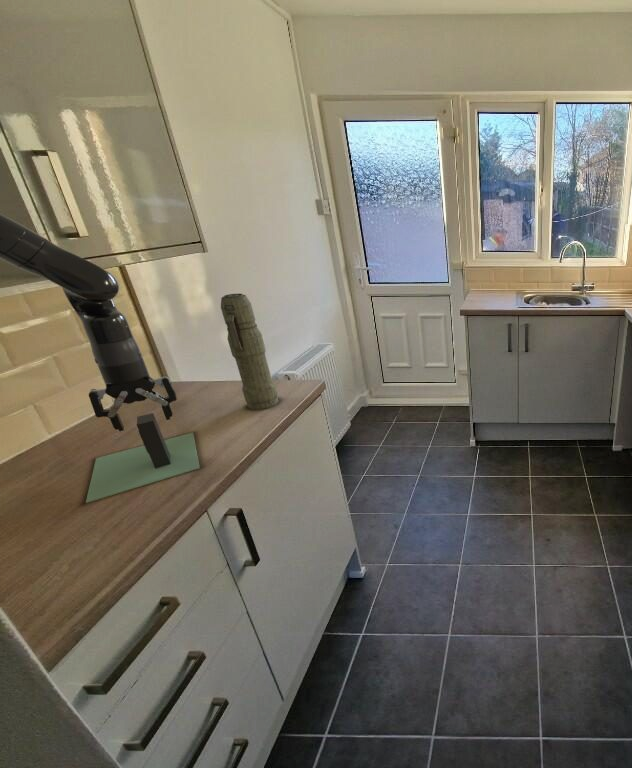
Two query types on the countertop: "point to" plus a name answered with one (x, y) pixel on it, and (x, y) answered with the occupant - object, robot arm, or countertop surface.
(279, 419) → the countertop surface
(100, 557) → the countertop surface
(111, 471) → the mat
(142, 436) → the dark grey tall block
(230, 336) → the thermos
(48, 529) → the countertop surface
